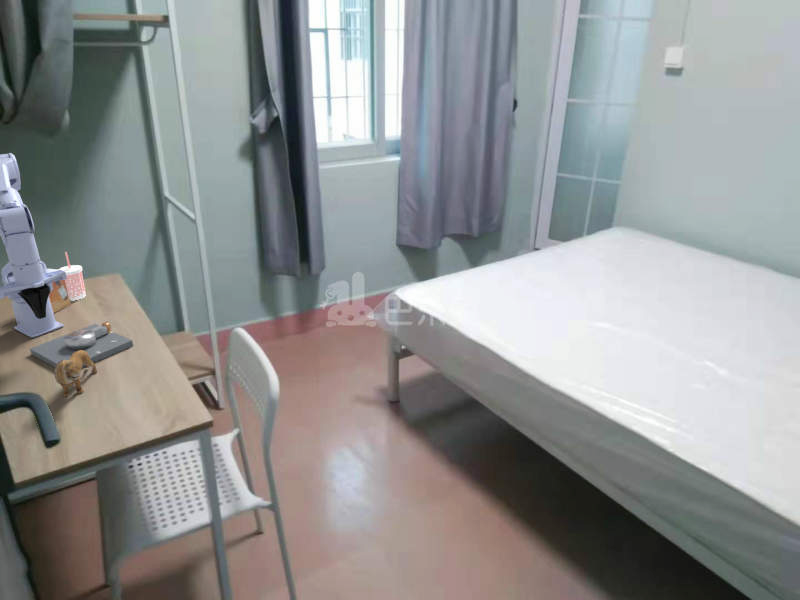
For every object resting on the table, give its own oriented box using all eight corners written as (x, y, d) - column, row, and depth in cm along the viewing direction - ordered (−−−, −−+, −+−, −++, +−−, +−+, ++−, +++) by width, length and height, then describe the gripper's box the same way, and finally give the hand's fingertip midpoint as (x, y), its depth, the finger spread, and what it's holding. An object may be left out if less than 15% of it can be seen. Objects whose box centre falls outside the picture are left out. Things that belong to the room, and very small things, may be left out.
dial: (77, 352, 132) (75, 343, 131) (60, 345, 134) (58, 337, 133) (119, 332, 141) (117, 324, 140) (102, 327, 143) (100, 319, 142)
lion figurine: (85, 402, 116) (75, 364, 113) (56, 406, 115) (45, 367, 111) (100, 366, 129) (91, 331, 126) (74, 370, 128) (64, 334, 124)
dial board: (31, 354, 134) (29, 348, 134) (96, 329, 146) (95, 323, 146) (67, 374, 126) (65, 368, 125) (133, 345, 138) (132, 339, 138)
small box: (50, 316, 154) (40, 279, 149) (32, 314, 155) (22, 278, 150) (71, 304, 161) (62, 269, 156) (54, 302, 162) (45, 267, 157)
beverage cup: (76, 292, 168) (65, 247, 162) (93, 294, 167) (83, 249, 161) (60, 300, 163) (48, 254, 157) (77, 303, 161) (66, 256, 156)
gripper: (-3, 275, 118) (15, 333, 124) (67, 255, 129) (81, 310, 135) (-18, 268, 122) (0, 325, 127) (51, 250, 133) (65, 303, 138)
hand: (40, 317), depth 131 cm, fingers closed
